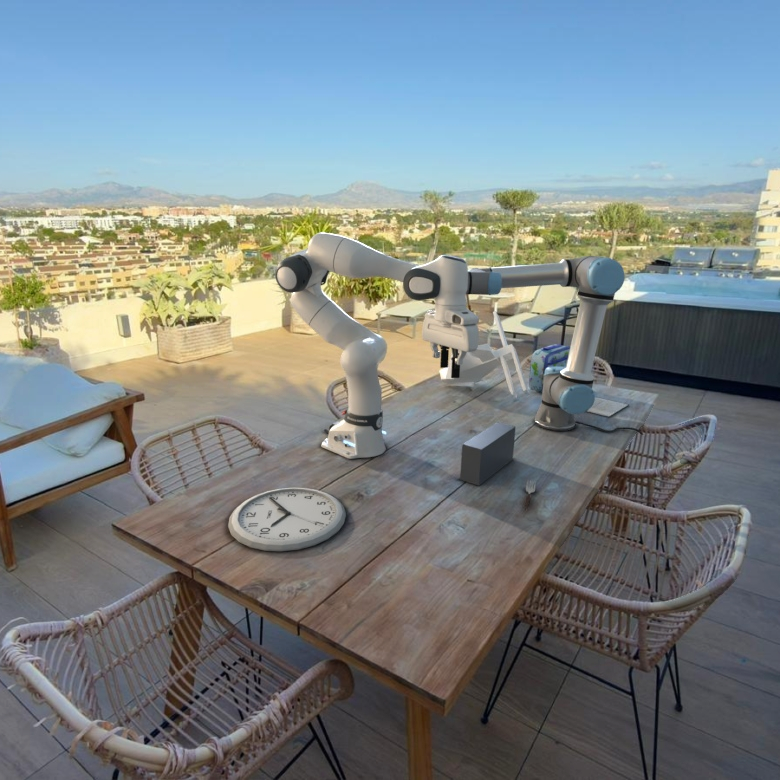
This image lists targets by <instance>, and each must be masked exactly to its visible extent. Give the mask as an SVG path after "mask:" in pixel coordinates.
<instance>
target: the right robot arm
mask: <svg viewBox="0 0 780 780" xmlns="http://www.w3.org/2000/svg"><path fill="white" fill-rule="evenodd" d="M625 276H626V275H625V270H624V268H623V266H622V264H620V262H619V261H618V260H615V259H613V258H611V257H607V256H596V255H587V256H586V255H585V256H582V257H581V256H580V257H576V258H567V259H561V261H559V262H552V263H539V264H526V265H525V264H524V265H511V266H496V267H485V268H484V267H482V268H480V267H479V268H478V267H473V268H470V269H468V288H467V292H466V295H467V296H469V295H475V296H476V295H477V296H478V295H479V296H480V295H482V296H495V295H497V296H498V295H499V294H500V293H501V291H502V289H511V288H512V289H513V288H524V287H525V288H527V287H543V286H555V285H557V286H558V285H560V287H562V288H567V287H568V288H569V287H571V288H577V289H578V290H577V293H576V294H577V295H576V296H577V297H578V299H579V300H580V303H579V307H578V311H577V317H576V321H575V325H574V328H573V334H572V338H571V342H570V351H569V356H568V360H567V365H566V367H548V368H546V369H545V374H544V382H543V391H542V392H541V393H542V394H541V402H540V405H539V407H538V410H537V411H536V413H535V416H534V424H535V425H536V426H537V427H539V428H542V429H544V430H549V431H556V432H567V431H572V430H574V429H575V428H576V424H578V425H582V426H586V427H589V428H592V429H595V430H599V431H601V432H604V433H610V434H611V433H614V432H616V431H618V430H632V431H635V432H637V433H638V434H640V435H641V436H644V433H643V432H642V431H641V430H639V429H637V428H635V427H629V426H627V427H620V426H619V427H615V428H613V429H612V430H608V429H604V428H601V427H598V426H595V425H592V424H588V423H585V422H581V421H579V420H578V421H577V420H576V418H575V417H576V416H575V415H581V414H584V413H585V412H588V411H587V410H589V409H590V408H591V407H592V405H593V403H594V401H595V397H596V394H595V391H594V390H593V385H594V381H595V377H594V375H593V374H592V369H593V365H594V361H595V357H596V353H597V349H598V345H599V341H600V336H601V332H602V328H603V323H604V320H605V315H606V312H607V307H608V305H610V304H611V303H612V302H613V301H614V299H615V295H616V293H617V292H618V291H619V290H620V289H621V288H622V287H623V285H624V283H625ZM438 346H439V347H440V364H439V368H440V369H444V368H448V366H449V353H450V349H451V352H452V354H453V357H452V358H451V360H452V369H451V378H459V376H460V365H457V364H455V358H458V356H459V353H458V349H454V348H450V347H447V346H443V345H438Z"/></svg>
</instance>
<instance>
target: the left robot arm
mask: <svg viewBox="0 0 780 780" xmlns="http://www.w3.org/2000/svg"><path fill="white" fill-rule="evenodd" d="M468 270H469V269H468V263H467V262H466V260H464V259H463V258H462V257H460V256H456V255H451V254H441V255H440V256H438V258H436V259H435V260H431V261H430V262H428V263H425V264H417V263H414V262H413V263H412V262H410V261H406V260H404V259H400V258H396V257H393V256H390V255H387V254H385V253H383V252H380V251H378V250H376V249H374V248H372V247H371V246H368V245H367V244H364V243H362V242H360V241H357V240H355V239H353V238H349V237H346V236H343V235H339V234H335V233H328V232H318V233H315V234H314V235H313V236H311V238H310V239H309V241H308V244H307V248H306V249H302V250H299V251H296V252H294V253H293V254H292V255H290V256H288V257H285V258H283V259H282V260H280V262H279V263H278V264H277V266H276V267H275V271H274V278H275V281H276V283H277V285H278V286H279V287H280V288H281V290H283V291H284V292H286V293H290V294H291V293H292V294H291V296H290V305H291V307H292V309H294V311H295V312H296V313H297V315H298V316H299V317H300V318H301V319H302V320H303V322H305V324H307V326H309V327H310V328H311V329H312V330H313V331H314V332H315V333H317V335H318V336H319V337H320V338H322V339H323V340H324V341H325V342H326V343H328V344H331V345H333V346H335V347H337V348H340V349H341V350H342V353H341V355H340V359H339V363H340V366H341V368H342V370H343V371H344V375H345V380H346V384H347V398H348V399H347V400H348V408H346V409H345V410H344V411H342V412H341V416H344V418H343V419H342V420H338V421H335V422H332V423H331V424H330V425H329V427H328V429H326V428H325V429H324V430H323V431H324V432H325V433H326V434H328V436H327V437H326V438H325V439H324V440H323V441H322V442H321V446H320V447H321V448H323V449H325V450H327V451H329V452H332V453H335V454H337V455H339V456H342V457H344V458H346V459H349V460H354V459H359V458H361V459H362V458H371V457H372V458H373V457H377V456H380V455H382V454H383V453H385V452H386V450H387V447H386V445H385V441H384V436H383V435H387V432H386V431H385V430H383V423H384V418H383V417H384V413H383V408H382V402H383V401H382V397H383V395H382V393H383V392H382V390H383V389H382V385H381V384H380V380H379V379H380V378H379V373H378V372H379V371H378V369H379V365H380V364H381V363H382V362H383V361H385V358H386V356H387V352H388V344H387V341H386V339H385V338H384V337H383V336H382V335H380V334H378V333H375V332H373V331H372V330H371V329H369V328H368V327H366V326H364V325H363V324H361V323H360V322H358V321H357V320H355V319H354V318H352V316H350V315H348V313H346V312H345V311H344V310H343V309H342V308H341V307H340V306H339V305H337V303H335V302H334V301H333V300H332V299H331V298H330V297H329V296H328V295H326V294H325V292H324V291H323V289H322V286H325V284H326V283H327V279H328V276H329V274H330V272H331V273H334V274H336V275H339V276H342V277H344V278H345V277H346V278H352V279H367V278H387V279H391V280H393V281H398V282H401V283H402V288H403V291H404V293H405V295H406V296H407V297H408V298H410V299H411V300H413V301H418V302H421V301H422V302H423V301H428V300H434V310H432V309H429V310H427V311H426V313H425V314H424V320H423V323H422V328H421V338H422V340H423V341H425V342H429V343H430V344H429V346H430V348H431V351H432V358H435V359H441V351H439V348H438V346H439V345H443V346H447V347H449V349H451V348H454V349H458V353H459V356H458V358H455V364H457V365H462V364H463V358H464V357H465V355H466V353H467V352H472V351H475V350H476V349H477V348H478V345H479V340H480V339H479V338H480V330H479V326H478V325H477V324H479V323H480V317H479V315H477V314H476V313H474V312H473V311H471V310H470V309H468V308H467V300H466V295H467V294H466V292H467V288H468Z"/></svg>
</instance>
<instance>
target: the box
mask: <svg viewBox="0 0 780 780" xmlns="http://www.w3.org/2000/svg"><path fill="white" fill-rule="evenodd" d="M515 438H516V425H512V424H507V423H503V422H500V421H496V423H494V424H492V425H491V426H489V427H487V428H486V429H484V430H483V431H481V432H479V433H477V434H476V435H475V436H473V437H471V438H470V439H468V440H466V441H465V442H463V443H462V445H461V458H460V459H461V461H460V474H459V475H460V476H459V480H460V481H463V482H466V483H469V484H471V485H472V484H473V485H476V486H478V487H479V486H481V484H482V485H483V484H484V482H486V481H487V480H488V479H489V478H491V477H492V476H493V475H494V474H496V473H497V472H498V471H499V470H501V469H502V468H504V467H505V466H506V465H507V464H509V463H510V462H511V461H513V459H514V458H513V457H514V449H515Z"/></svg>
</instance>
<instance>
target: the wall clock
mask: <svg viewBox="0 0 780 780" xmlns="http://www.w3.org/2000/svg"><path fill="white" fill-rule="evenodd" d="M346 518H347V513H346V509H345V506H344V505H343V503H341V501H340V500H339V499H338V498H336V497H334V496H332V495H331V494H330V493H327V492H324V491H321V490H318V489H313V488H308V487H283V488H277V489H272V490H267V491H264V492H261V493H258V494H255V495H253V496H252V497H250V498H248V499H246V500H244V501H243V502H242V503H240V504H239V505H238V506H237V507H236V508H234V510H233V511H232V513H231V514H230V516H229V518H228V524H227V528H228V530H229V532H230V535H231V536H232V538H234V539H235V540H236V541H237V542H238V543H239V544H242V545H244V546H246V547H249V548H251V549H256V550H261V551H266V552H287V551H288V552H289V551H299V550H302V549H306V548H310V547H313V546H316V545H318V544H320V543H323V542H325V541H328V540H329V539H330V538H332V537H333V536H334V535H336V534H337V533H339V531H340V530H341V528H342V527H343V526H344V524H345V521H346Z"/></svg>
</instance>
